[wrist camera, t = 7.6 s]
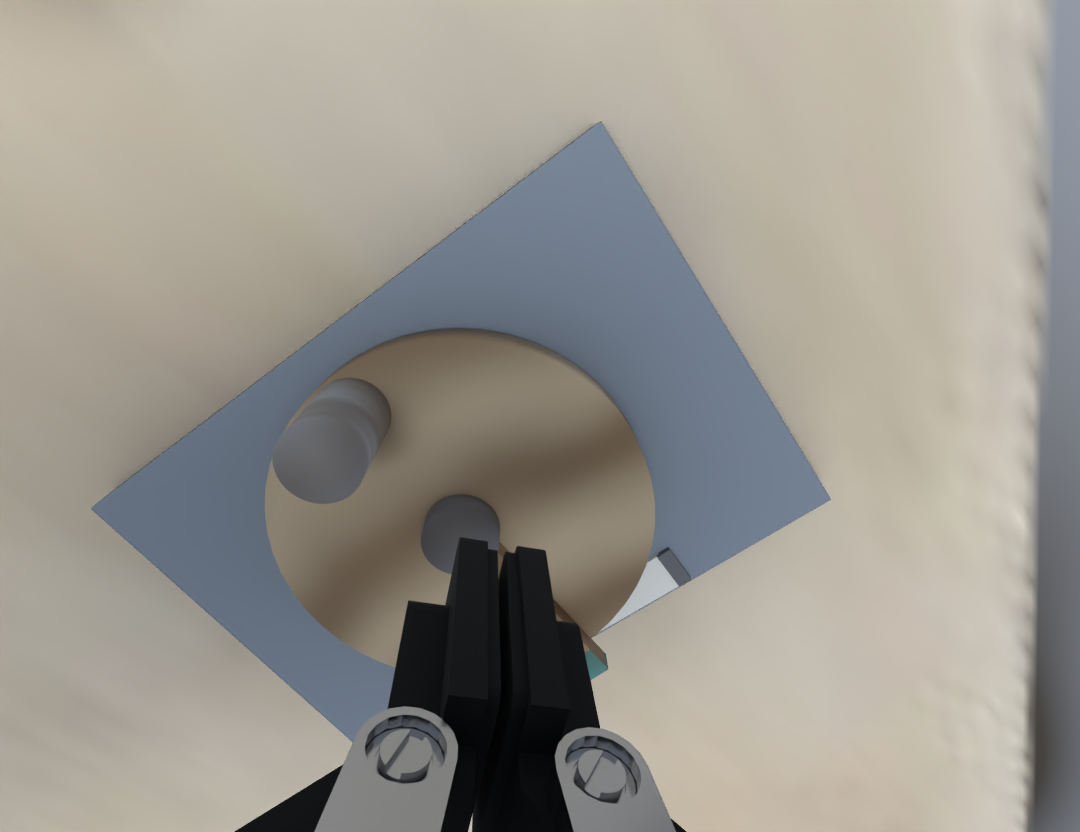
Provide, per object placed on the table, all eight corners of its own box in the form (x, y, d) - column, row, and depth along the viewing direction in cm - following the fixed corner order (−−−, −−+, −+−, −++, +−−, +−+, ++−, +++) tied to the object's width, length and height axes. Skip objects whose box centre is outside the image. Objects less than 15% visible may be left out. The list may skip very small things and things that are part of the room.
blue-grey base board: (381, 736, 32) (374, 766, 30) (113, 490, 26) (86, 511, 25) (815, 482, 27) (833, 502, 26) (595, 124, 22) (602, 120, 20)
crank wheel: (730, 548, 26) (780, 641, 21) (461, 717, 29) (448, 835, 24) (491, 243, 21) (481, 266, 16) (199, 481, 24) (113, 565, 19)
